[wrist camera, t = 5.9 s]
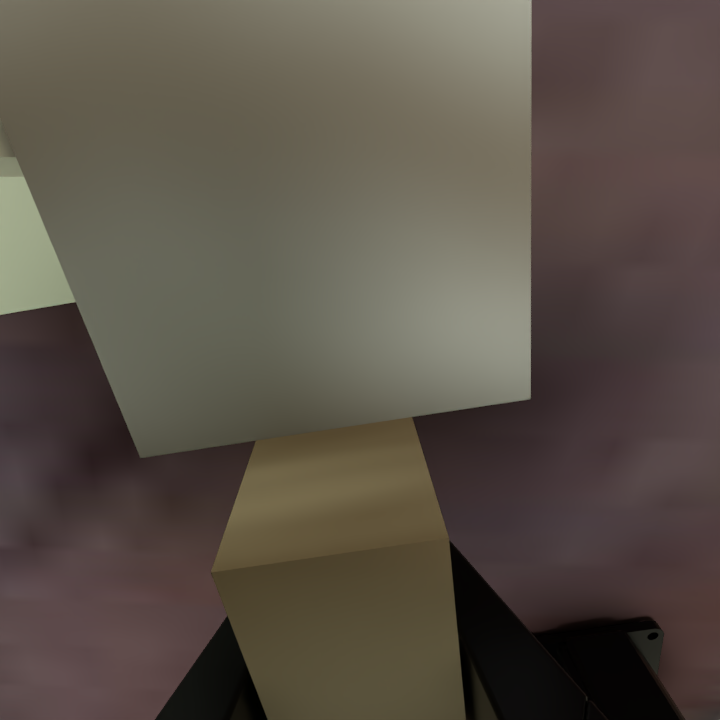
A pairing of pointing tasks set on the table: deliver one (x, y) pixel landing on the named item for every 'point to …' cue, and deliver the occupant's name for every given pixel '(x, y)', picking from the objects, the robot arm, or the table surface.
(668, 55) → the table surface
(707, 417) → the table surface
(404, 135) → the turner
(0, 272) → the mat
